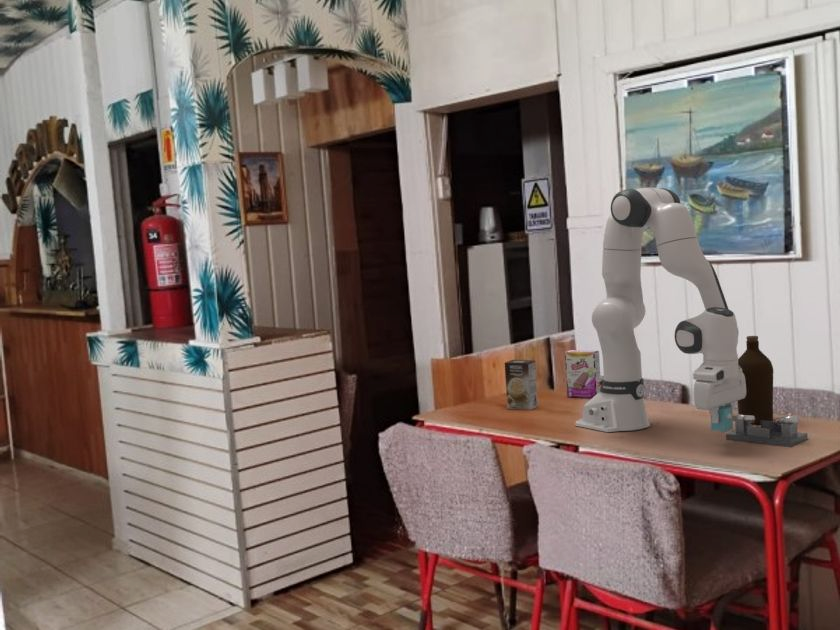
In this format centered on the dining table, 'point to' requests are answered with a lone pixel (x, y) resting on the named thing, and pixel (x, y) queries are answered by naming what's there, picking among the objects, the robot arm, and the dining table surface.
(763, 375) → the olive oil
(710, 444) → the dining table surface
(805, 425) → the dining table surface
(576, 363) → the candy bar box
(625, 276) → the robot arm
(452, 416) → the dining table surface
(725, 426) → the coupler
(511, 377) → the coffee box
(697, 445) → the dining table surface
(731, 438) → the shaft rig
